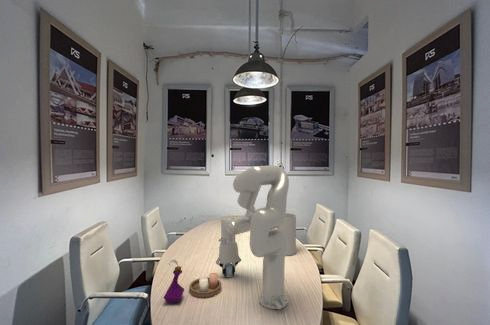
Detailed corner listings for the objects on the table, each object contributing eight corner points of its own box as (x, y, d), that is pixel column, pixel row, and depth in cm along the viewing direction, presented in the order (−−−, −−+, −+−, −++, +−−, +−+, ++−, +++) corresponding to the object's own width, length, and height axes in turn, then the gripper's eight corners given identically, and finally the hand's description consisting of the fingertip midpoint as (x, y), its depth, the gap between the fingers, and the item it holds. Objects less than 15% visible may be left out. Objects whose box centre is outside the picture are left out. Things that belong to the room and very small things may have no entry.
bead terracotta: (209, 289, 122) (209, 277, 121) (208, 285, 125) (208, 273, 125) (218, 288, 123) (218, 276, 123) (216, 284, 127) (216, 272, 126)
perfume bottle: (184, 295, 118) (184, 256, 117) (181, 305, 110) (180, 263, 110) (168, 296, 117) (167, 257, 117) (163, 305, 110) (163, 263, 110)
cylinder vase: (295, 256, 164) (295, 217, 164) (276, 255, 167) (276, 217, 166) (295, 249, 177) (296, 213, 176) (277, 248, 179) (277, 213, 179)
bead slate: (233, 276, 135) (233, 265, 135) (225, 277, 134) (225, 266, 134) (231, 273, 139) (231, 262, 139) (224, 274, 138) (224, 263, 138)
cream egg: (208, 293, 118) (208, 280, 118) (199, 295, 117) (199, 281, 117) (207, 289, 122) (207, 276, 122) (198, 290, 121) (198, 278, 121)
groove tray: (223, 295, 118) (223, 290, 118) (190, 300, 114) (190, 295, 114) (218, 280, 132) (218, 275, 132) (188, 284, 128) (188, 279, 128)
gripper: (213, 244, 131) (214, 280, 131) (245, 241, 135) (245, 275, 135) (211, 239, 138) (212, 273, 138) (241, 237, 142) (241, 269, 143)
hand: (228, 274), depth 137 cm, fingers closed on bead slate, 4 cm apart
